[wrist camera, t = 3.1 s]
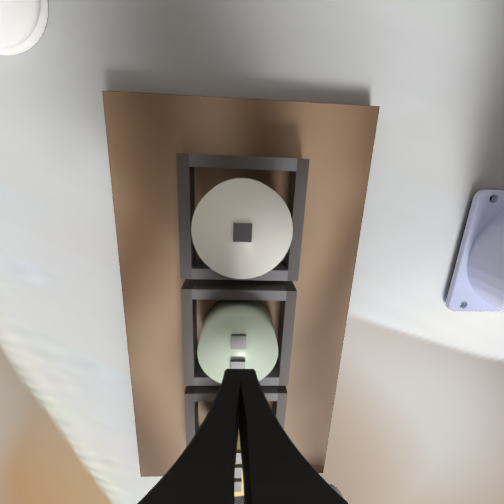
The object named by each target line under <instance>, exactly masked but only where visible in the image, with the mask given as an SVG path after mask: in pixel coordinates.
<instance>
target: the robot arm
mask: <svg viewBox="0 0 504 504" xmlns="http://www.w3.org/2000/svg"><path fill="white" fill-rule="evenodd" d="M491 196H492V200H491V201H490V197H491ZM462 302H463V303H462ZM461 303H462V304H461ZM460 304H461V305H460ZM446 307H447V308H448V309H450V310H451V311H479V312H504V190H485V189H483V190H479V191H477V192H476V193H475V195H474V197H473V200H472V204H471V208H470V212H469V215H468V219H467V223H466V227H465V231H464V234H463V238H462V242H461V246H460V250H459V253H458V257H457V261H456V265H455V269H454V272H453V276H452V280H451V284H450V288H449V291H448V295H447V299H446ZM238 432H239V436H240V448H241V460H242V472H243V485H244V504H348V503H347V501H345V500H344V499H343V498H342V497H341V496H340V495H339V494H338V493H337V492H336V491H335V490H334V489H333V488H332V487H331V486H330V485H329V484H328V483H327V482H326V481H325V480H324V479H323V478H322V477H321V476H320V475H319V474H318V473H317V472H316V471H315V469H314V468H313V467H312V466H311V465H310V463H309V462H308V461H307V460H306V459H305V458H304V456H303V455H302V454H301V453H300V452H299V450H298V449H297V448H296V446H295V445H294V444H293V442H292V441H291V439H290V438H289V437H288V435H287V434H286V432H285V431H284V429H283V428H282V426H281V424H280V423H279V421H278V419H277V418H276V416H275V414H274V413H273V411H272V409H271V407H270V405H269V403H268V401H267V399H266V397H265V395H264V393H263V391H262V388H261V386H260V383H259V381H258V378H257V374H256V371H255V370H254V369H226V370H225V371H224V376H223V380H222V383H221V385H220V388H219V390H218V393H217V395H216V397H215V399H214V402H213V404H212V406H211V408H210V410H209V411H208V413H207V415H206V417H205V419H204V421H203V422H202V424H201V426H200V427H199V429H198V431H197V432H196V434H195V435H194V437H193V438H192V440H191V441H190V443H189V444H188V446H187V447H186V448H185V450H184V451H183V453H182V454H181V455H180V457H179V458H178V459H177V460H176V462H175V463H174V464H173V465H172V467H171V468H170V469H169V470H168V471H167V473H166V474H165V475H164V476H163V477H162V478H161V480H160V481H159V482H158V483H157V484H156V485H155V486H154V487H153V488H152V489H151V490H150V491H149V492H148V494H147V495H146V496H145V497H144V498H143V499H142V500H141V501H140V502H139V503H138V504H234V478H235V464H236V453H237V443H238Z"/></svg>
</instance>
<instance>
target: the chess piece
mask: <svg viewBox="0 0 504 504" xmlns="http://www.w3.org/2000/svg"><path fill="white" fill-rule="evenodd" d="M47 19H48V0H0V55H16V54H20V53H22V52H25V51H27V50H28V49H30V48H31V47H33V46H34V45H35V44H36V43H37V42H38V40H39V39H40V38H41V36H42V34H43V32H44V30H45V27H46V24H47Z"/></svg>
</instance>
